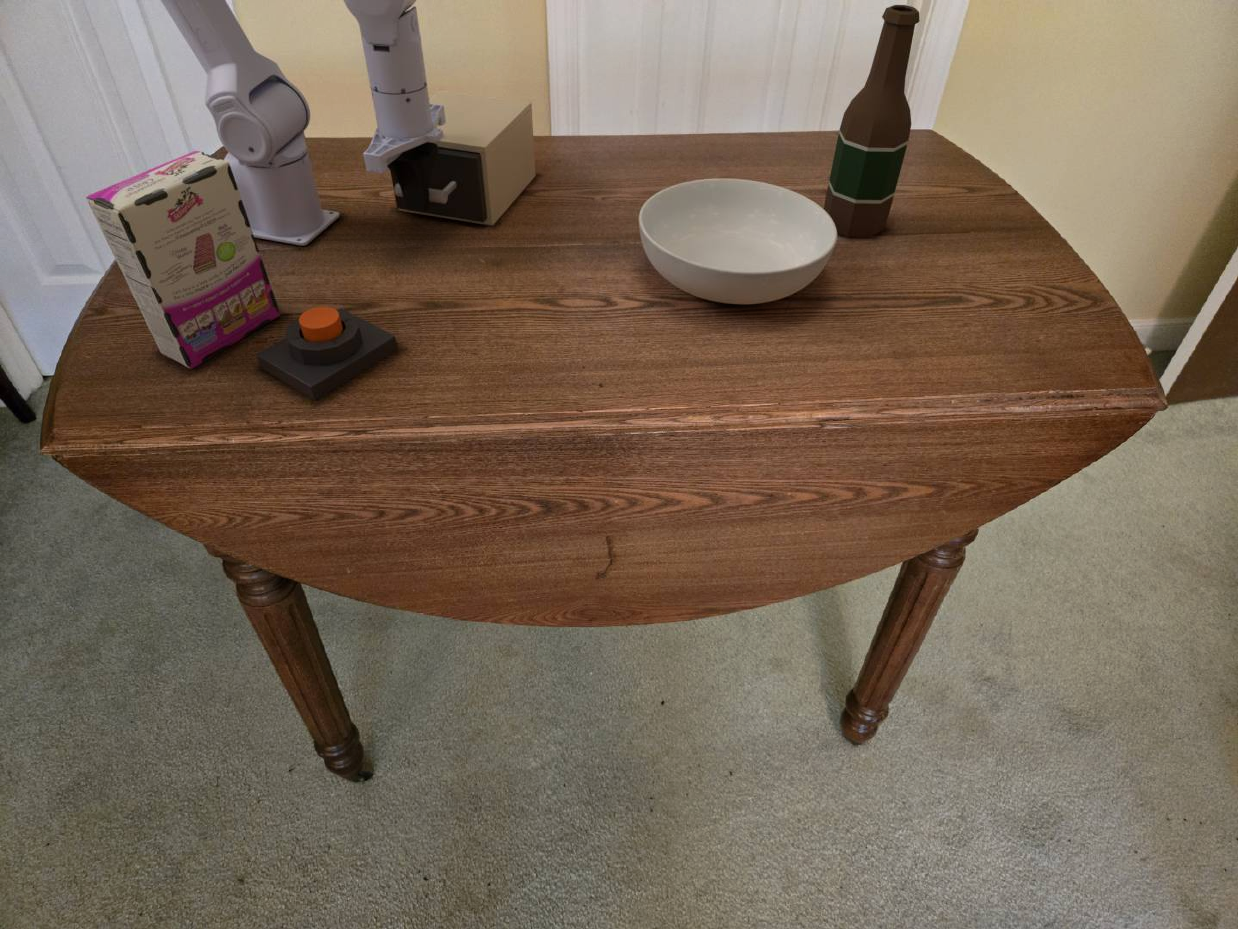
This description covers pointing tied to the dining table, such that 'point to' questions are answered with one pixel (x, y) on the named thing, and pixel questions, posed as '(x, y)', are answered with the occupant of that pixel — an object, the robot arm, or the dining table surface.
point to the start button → (320, 324)
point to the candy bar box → (188, 255)
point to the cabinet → (490, 144)
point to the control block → (327, 356)
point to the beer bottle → (874, 135)
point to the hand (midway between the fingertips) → (418, 209)
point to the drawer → (453, 186)
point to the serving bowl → (736, 239)
